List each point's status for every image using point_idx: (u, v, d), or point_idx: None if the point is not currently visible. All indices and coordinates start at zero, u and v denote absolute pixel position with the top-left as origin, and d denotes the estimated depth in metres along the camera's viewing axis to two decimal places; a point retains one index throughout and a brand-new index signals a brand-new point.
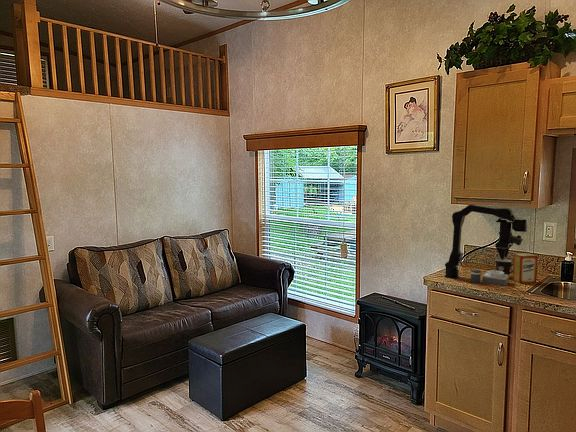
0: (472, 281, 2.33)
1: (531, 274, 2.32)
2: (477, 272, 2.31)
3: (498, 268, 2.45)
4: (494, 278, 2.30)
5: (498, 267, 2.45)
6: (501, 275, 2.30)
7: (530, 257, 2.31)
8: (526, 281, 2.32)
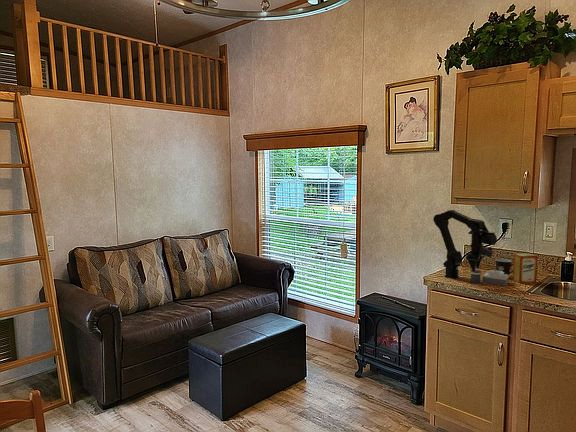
0: (472, 281, 2.33)
1: (531, 274, 2.32)
2: (477, 272, 2.31)
3: (498, 268, 2.45)
4: (494, 278, 2.30)
5: (498, 267, 2.45)
6: (501, 275, 2.30)
7: (530, 257, 2.31)
8: (526, 281, 2.32)
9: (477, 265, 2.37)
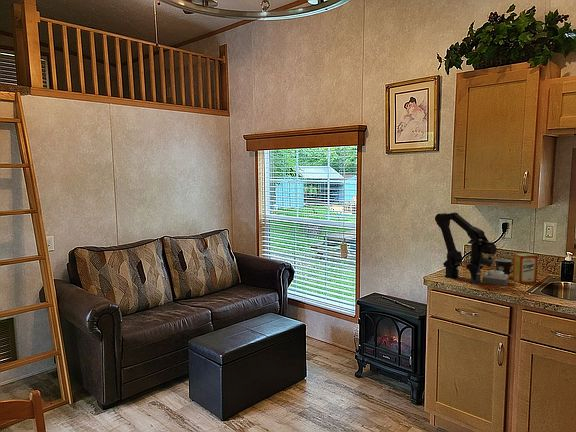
0: (472, 281, 2.33)
1: (531, 274, 2.32)
2: (477, 272, 2.31)
3: (498, 268, 2.45)
4: (494, 278, 2.30)
5: (498, 267, 2.45)
6: (501, 275, 2.30)
7: (530, 257, 2.31)
8: (526, 281, 2.32)
9: None
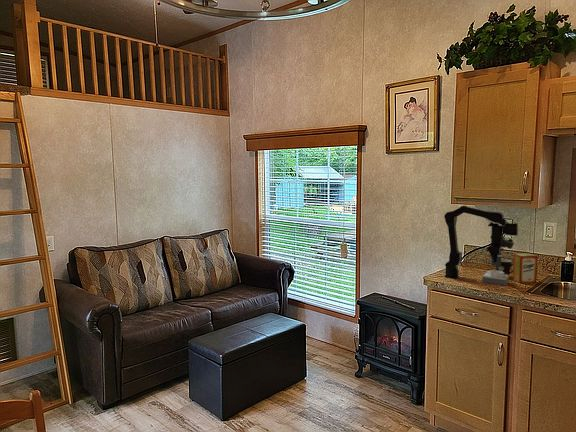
0: (493, 263, 2.32)
1: (531, 274, 2.32)
2: (498, 254, 2.30)
3: (498, 268, 2.45)
4: (494, 278, 2.30)
5: (498, 267, 2.45)
6: (501, 275, 2.30)
7: (530, 257, 2.31)
8: (526, 281, 2.32)
9: None
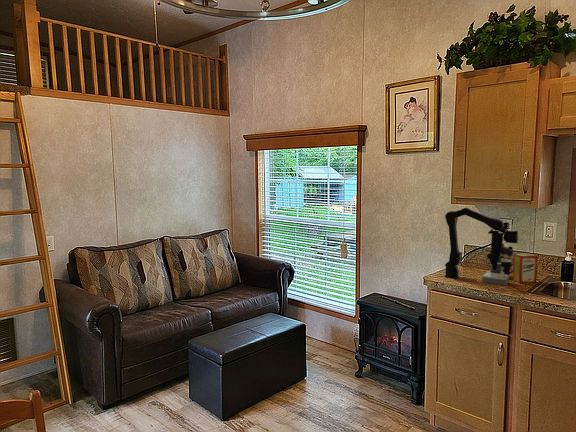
0: (492, 271, 2.33)
1: (531, 274, 2.32)
2: (498, 262, 2.31)
3: None
4: (494, 278, 2.30)
5: None
6: (501, 275, 2.30)
7: (530, 257, 2.31)
8: (526, 281, 2.32)
9: None
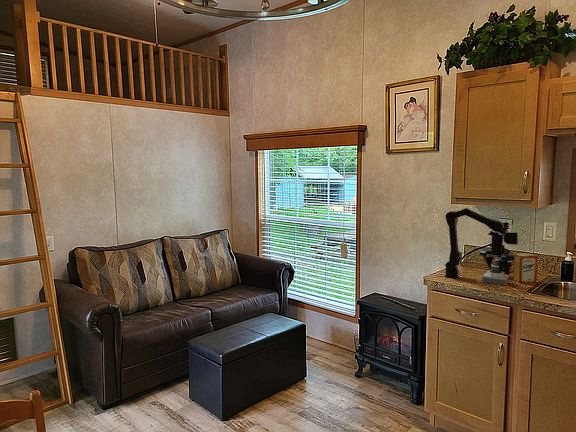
0: None
1: (531, 274, 2.32)
2: None
3: None
4: (494, 278, 2.30)
5: None
6: (501, 275, 2.30)
7: (530, 257, 2.31)
8: (526, 281, 2.32)
9: (490, 266, 2.37)
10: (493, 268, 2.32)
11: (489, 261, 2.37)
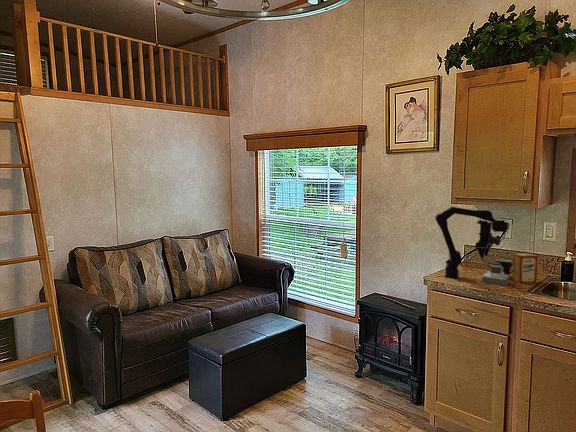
0: None
1: (531, 274, 2.32)
2: (500, 264, 2.32)
3: None
4: (494, 278, 2.30)
5: None
6: (501, 275, 2.30)
7: (530, 257, 2.31)
8: (526, 281, 2.32)
9: (485, 253, 2.47)
10: (493, 268, 2.32)
11: None
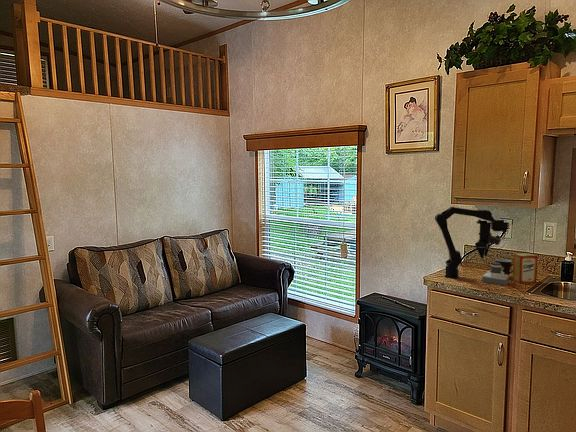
0: None
1: (531, 274, 2.32)
2: (500, 264, 2.32)
3: None
4: (494, 278, 2.30)
5: None
6: (501, 275, 2.30)
7: (530, 257, 2.31)
8: (526, 281, 2.32)
9: (485, 253, 2.47)
10: (493, 268, 2.32)
11: None
